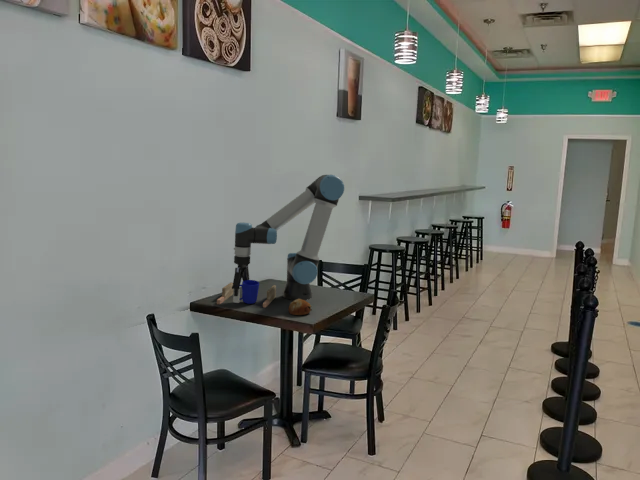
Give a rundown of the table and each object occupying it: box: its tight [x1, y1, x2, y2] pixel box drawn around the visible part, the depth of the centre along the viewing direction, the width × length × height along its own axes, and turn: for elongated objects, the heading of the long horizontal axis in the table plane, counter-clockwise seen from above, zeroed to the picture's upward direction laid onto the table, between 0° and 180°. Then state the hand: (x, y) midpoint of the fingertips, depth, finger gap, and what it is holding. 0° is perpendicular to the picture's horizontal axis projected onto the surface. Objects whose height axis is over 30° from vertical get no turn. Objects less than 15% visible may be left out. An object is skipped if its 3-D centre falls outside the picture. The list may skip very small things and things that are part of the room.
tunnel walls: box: [221, 282, 277, 304], centre depth 260 cm, size 24×14×6 cm, turn 83°
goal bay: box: [216, 296, 270, 308], centre depth 249 cm, size 24×7×2 cm, turn 83°
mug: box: [239, 279, 260, 305], centre depth 250 cm, size 8×12×10 cm
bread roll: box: [288, 299, 313, 316], centre depth 235 cm, size 10×10×8 cm
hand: (240, 299), depth 248 cm, fingers open, 13 cm apart
